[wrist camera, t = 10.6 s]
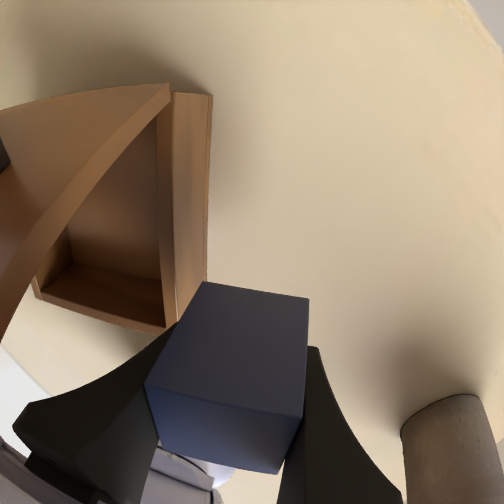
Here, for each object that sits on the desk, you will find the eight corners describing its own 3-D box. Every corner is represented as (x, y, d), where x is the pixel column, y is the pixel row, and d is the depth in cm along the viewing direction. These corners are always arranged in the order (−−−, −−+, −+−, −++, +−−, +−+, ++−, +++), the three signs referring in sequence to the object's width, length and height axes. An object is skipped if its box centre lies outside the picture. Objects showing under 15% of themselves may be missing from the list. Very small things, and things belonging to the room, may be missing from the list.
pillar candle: (386, 446, 27) (389, 565, 13) (423, 394, 22) (445, 546, 9) (456, 440, 25) (472, 544, 12) (498, 389, 21) (535, 510, 8)
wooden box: (207, 291, 21) (180, 342, 16) (74, 264, 22) (35, 298, 18) (213, 95, 15) (175, 91, 11) (59, 106, 17) (4, 115, 12)
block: (291, 371, 13) (277, 475, 9) (203, 354, 14) (162, 450, 9) (309, 298, 12) (302, 417, 7) (201, 280, 12) (142, 382, 7)
